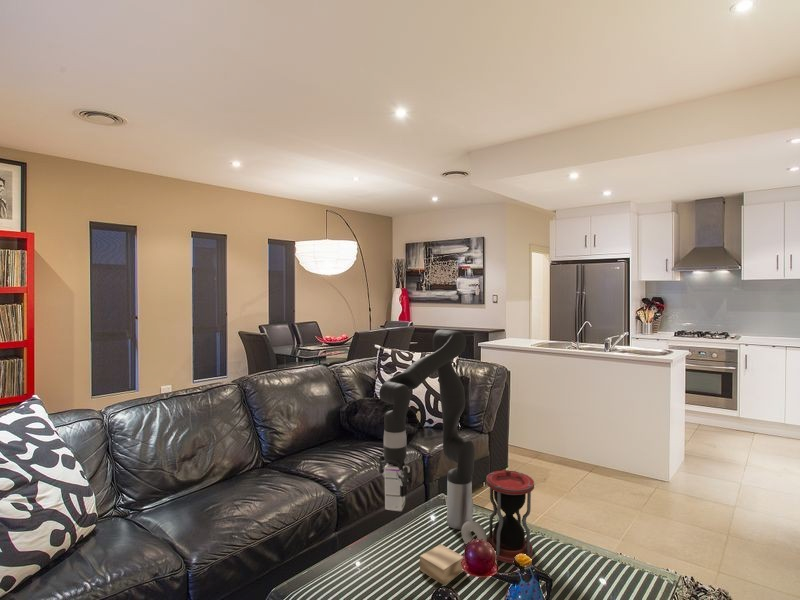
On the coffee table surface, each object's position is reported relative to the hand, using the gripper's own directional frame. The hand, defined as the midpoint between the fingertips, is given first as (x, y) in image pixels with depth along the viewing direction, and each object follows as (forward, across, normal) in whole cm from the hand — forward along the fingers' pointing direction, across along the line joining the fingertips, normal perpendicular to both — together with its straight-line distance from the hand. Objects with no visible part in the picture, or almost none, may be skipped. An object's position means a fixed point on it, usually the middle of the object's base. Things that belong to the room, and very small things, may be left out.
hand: (395, 491), depth 158 cm
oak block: (+24, -14, -8) cm, 29 cm away
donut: (+24, -12, -25) cm, 37 cm away
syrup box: (+5, 0, 0) cm, 5 cm away
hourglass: (+24, -20, -34) cm, 47 cm away
